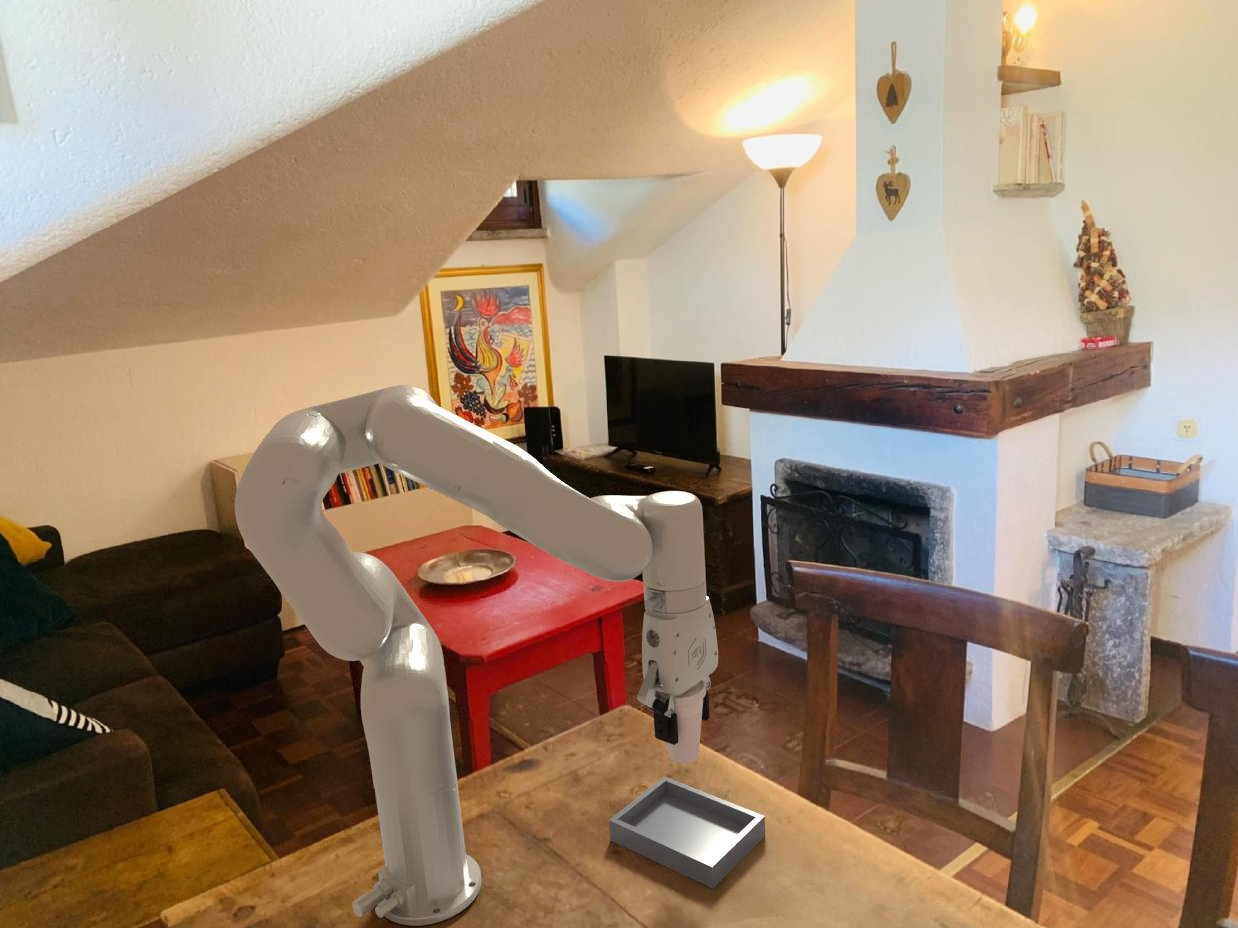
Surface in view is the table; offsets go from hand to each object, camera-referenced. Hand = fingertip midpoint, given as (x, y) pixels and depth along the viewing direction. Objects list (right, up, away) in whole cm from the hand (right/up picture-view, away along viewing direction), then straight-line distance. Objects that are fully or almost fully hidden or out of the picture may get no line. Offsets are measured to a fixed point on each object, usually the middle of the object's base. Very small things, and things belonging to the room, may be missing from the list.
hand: (682, 727), depth 116 cm
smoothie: (0, -4, +1) cm, 4 cm away
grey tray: (+1, -15, +4) cm, 16 cm away
